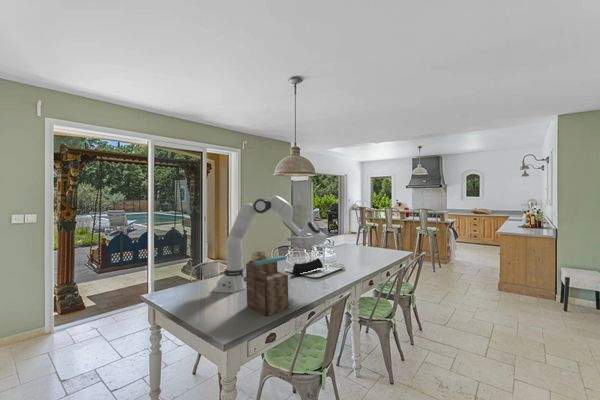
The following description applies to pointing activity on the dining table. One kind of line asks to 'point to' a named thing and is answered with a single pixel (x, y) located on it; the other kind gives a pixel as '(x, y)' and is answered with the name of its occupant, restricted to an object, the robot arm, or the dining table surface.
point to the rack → (266, 286)
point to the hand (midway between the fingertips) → (291, 240)
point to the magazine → (306, 267)
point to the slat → (270, 260)
